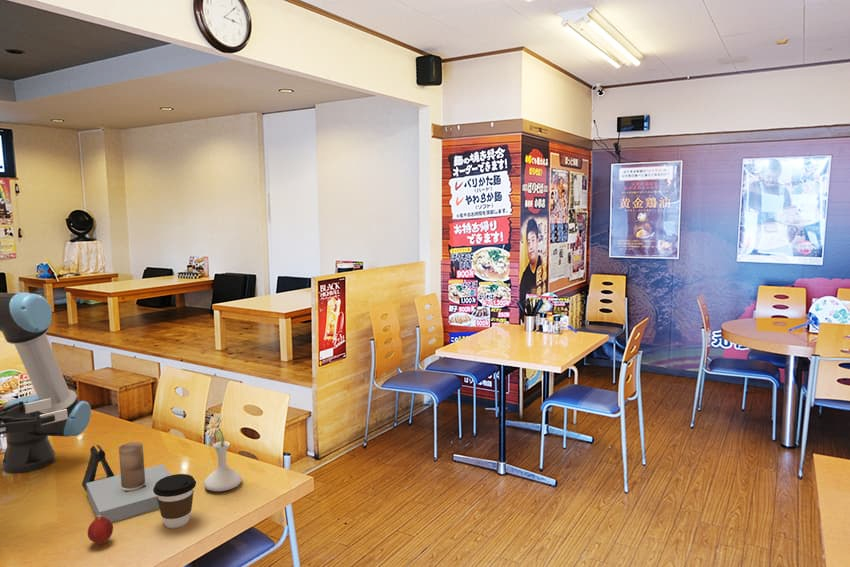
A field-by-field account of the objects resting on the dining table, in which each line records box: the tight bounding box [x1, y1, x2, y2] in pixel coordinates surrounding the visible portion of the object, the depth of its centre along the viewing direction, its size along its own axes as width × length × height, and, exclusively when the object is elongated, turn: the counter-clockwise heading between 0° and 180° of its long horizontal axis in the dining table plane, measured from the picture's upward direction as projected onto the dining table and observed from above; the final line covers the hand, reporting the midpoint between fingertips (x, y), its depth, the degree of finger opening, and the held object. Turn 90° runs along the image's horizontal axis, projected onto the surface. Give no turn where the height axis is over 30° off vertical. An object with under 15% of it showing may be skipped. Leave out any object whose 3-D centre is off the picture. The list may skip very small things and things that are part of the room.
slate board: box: [86, 463, 172, 524], centre depth 178 cm, size 22×22×4 cm
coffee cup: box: [153, 473, 197, 529], centre depth 164 cm, size 11×11×12 cm
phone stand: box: [81, 444, 115, 492], centre depth 187 cm, size 9×6×12 cm, turn 130°
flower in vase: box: [203, 412, 243, 492], centre depth 183 cm, size 13×11×25 cm
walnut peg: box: [118, 441, 146, 492], centre depth 177 cm, size 7×7×16 cm
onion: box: [87, 515, 114, 546], centre depth 154 cm, size 6×6×8 cm
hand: (58, 408), depth 170 cm, fingers open, 13 cm apart
